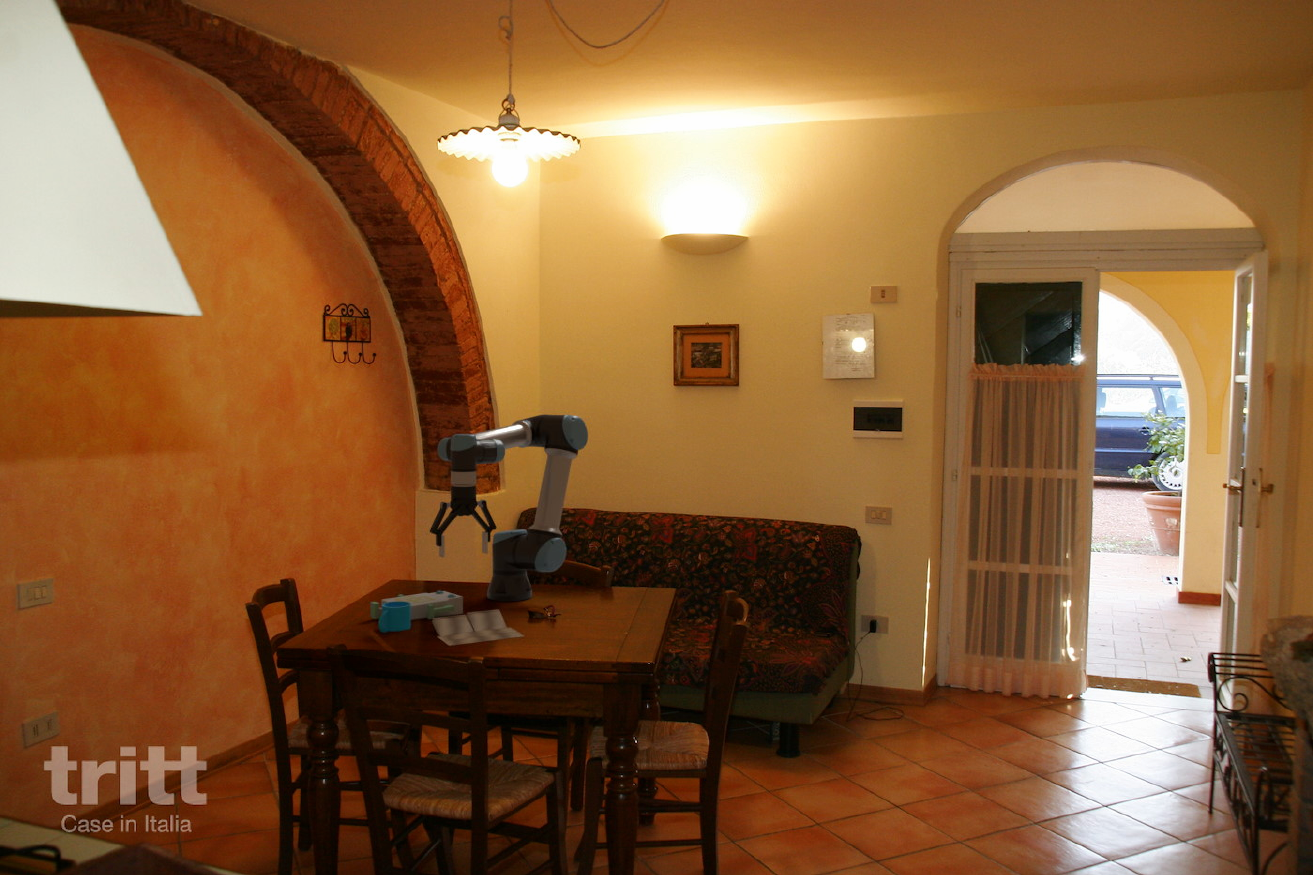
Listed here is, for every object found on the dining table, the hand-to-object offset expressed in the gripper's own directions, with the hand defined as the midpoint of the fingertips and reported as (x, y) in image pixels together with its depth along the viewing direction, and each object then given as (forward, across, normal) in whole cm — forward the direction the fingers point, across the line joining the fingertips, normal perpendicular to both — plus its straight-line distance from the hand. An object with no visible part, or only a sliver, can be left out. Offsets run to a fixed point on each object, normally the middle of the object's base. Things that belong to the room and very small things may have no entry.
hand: (463, 555), depth 285 cm
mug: (+21, +22, +1) cm, 31 cm away
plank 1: (+19, +7, +11) cm, 23 cm away
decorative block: (+22, +9, -16) cm, 28 cm away
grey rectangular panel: (+19, -3, +11) cm, 22 cm away
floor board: (+21, +2, +21) cm, 30 cm away
